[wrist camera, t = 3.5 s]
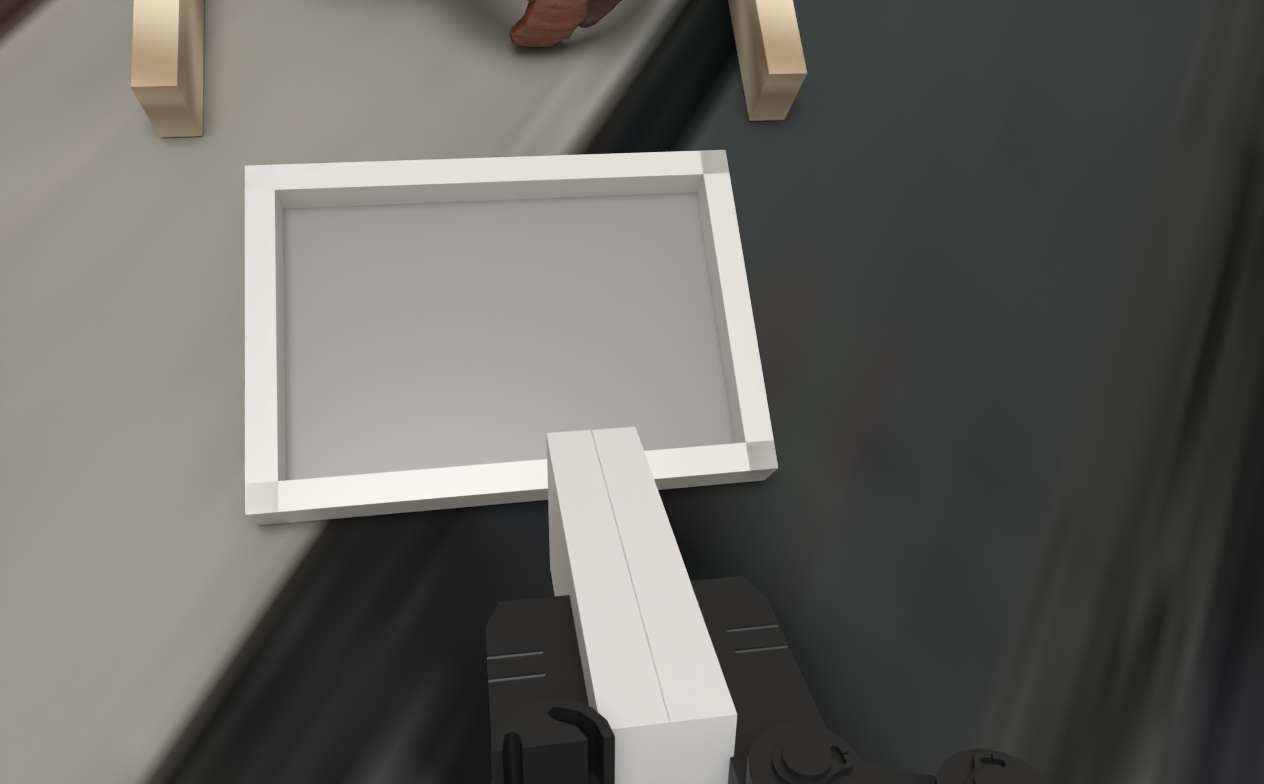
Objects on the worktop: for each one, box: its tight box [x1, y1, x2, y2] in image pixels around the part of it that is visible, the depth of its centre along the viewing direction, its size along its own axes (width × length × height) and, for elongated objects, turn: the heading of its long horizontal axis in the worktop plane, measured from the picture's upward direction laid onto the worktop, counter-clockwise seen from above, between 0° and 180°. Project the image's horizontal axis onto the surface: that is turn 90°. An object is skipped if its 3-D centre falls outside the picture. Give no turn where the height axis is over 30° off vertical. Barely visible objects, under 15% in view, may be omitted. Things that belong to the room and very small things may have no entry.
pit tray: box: [245, 150, 778, 526], centre depth 28 cm, size 10×14×2 cm
